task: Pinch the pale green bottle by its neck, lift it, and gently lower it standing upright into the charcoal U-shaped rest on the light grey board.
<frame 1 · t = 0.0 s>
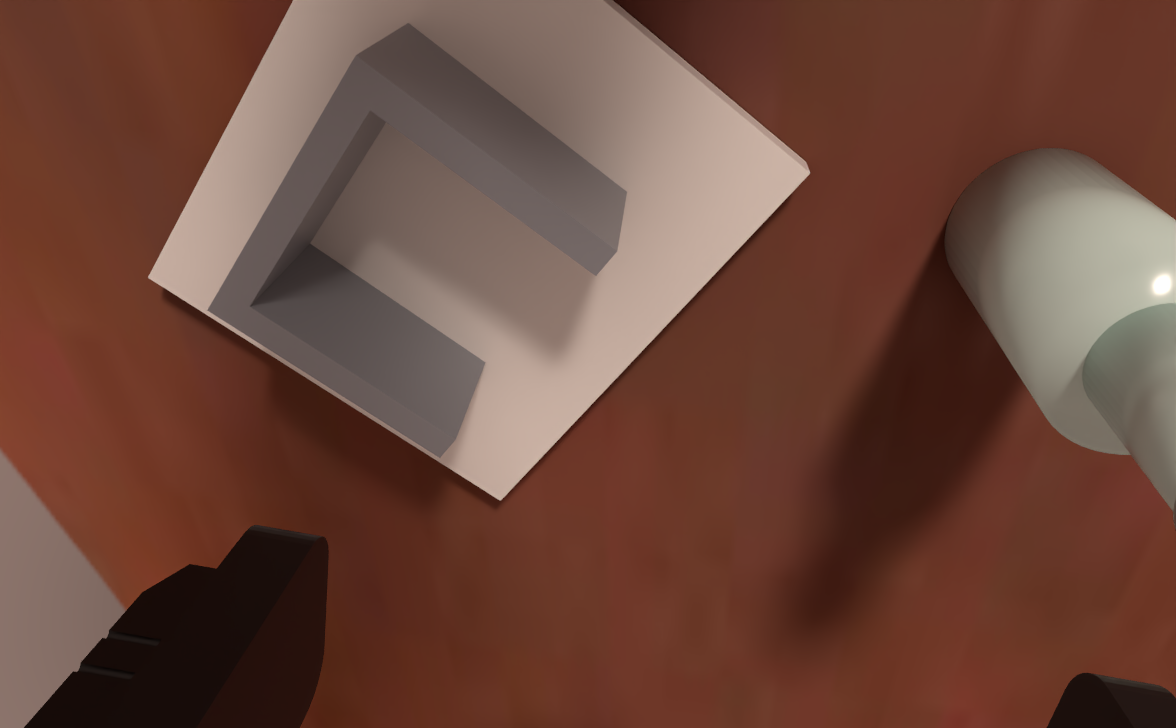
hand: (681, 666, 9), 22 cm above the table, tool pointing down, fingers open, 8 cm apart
u rest: (462, 216, 31), on the table
bottle: (1031, 229, 29), on the table
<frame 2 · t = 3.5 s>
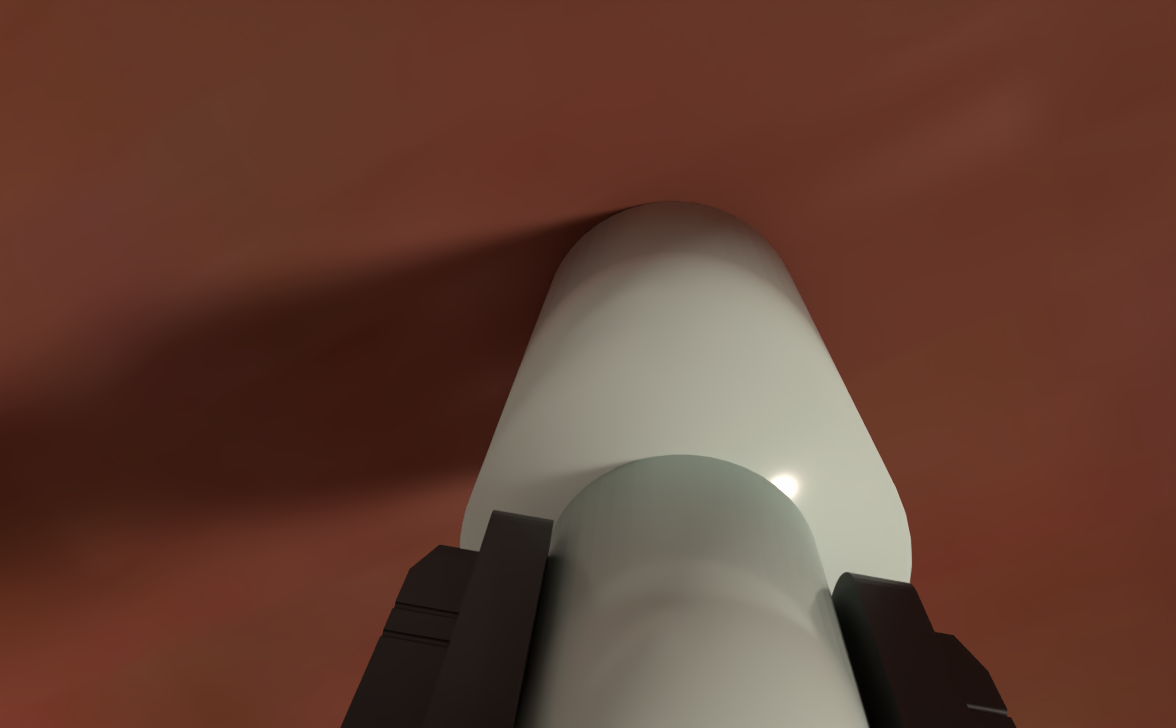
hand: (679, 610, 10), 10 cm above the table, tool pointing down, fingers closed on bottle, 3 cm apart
bottle: (670, 327, 19), on the table, touching gripper
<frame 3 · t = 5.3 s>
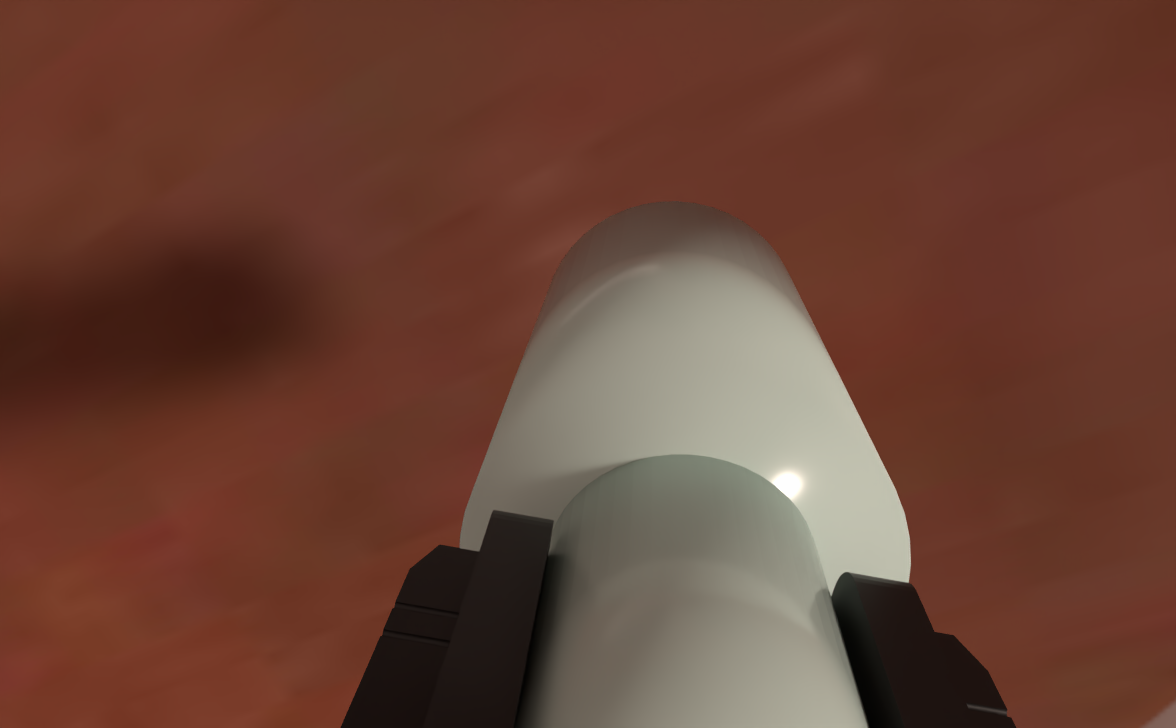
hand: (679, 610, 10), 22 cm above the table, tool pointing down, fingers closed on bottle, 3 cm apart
bottle: (669, 327, 19), point 12 cm above the table, touching gripper
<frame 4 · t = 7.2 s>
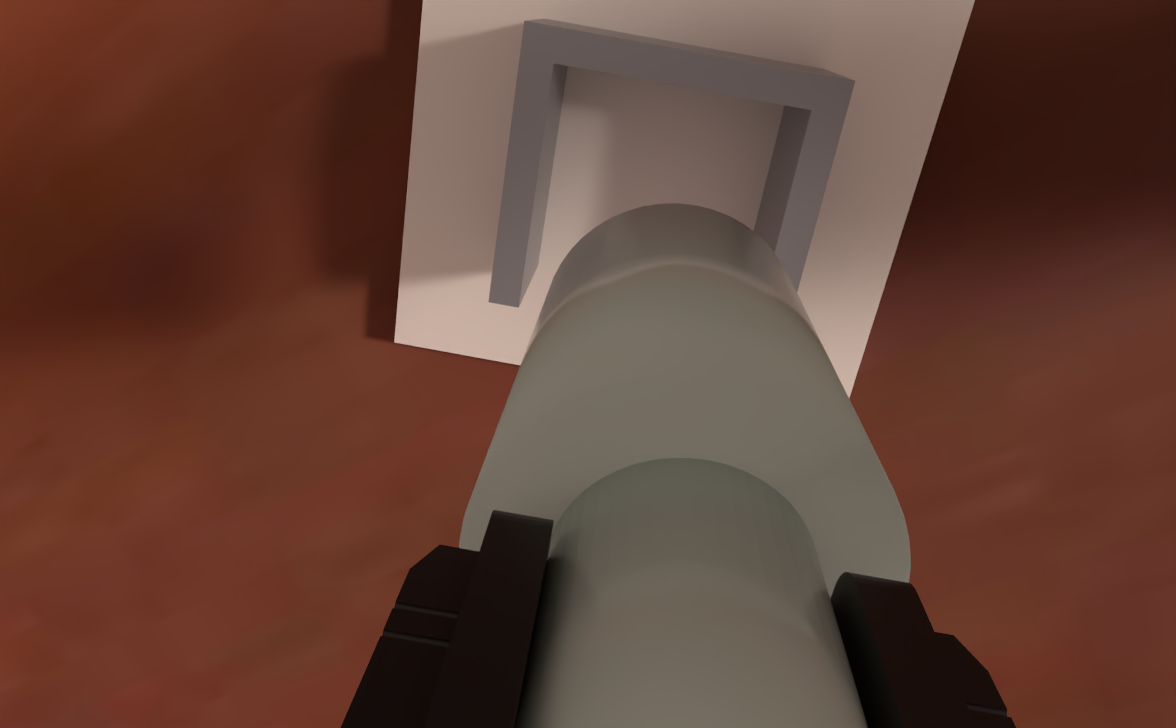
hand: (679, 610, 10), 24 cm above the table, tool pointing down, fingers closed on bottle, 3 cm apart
u rest: (656, 177, 32), on the table
bottle: (669, 329, 19), point 14 cm above the table, touching gripper
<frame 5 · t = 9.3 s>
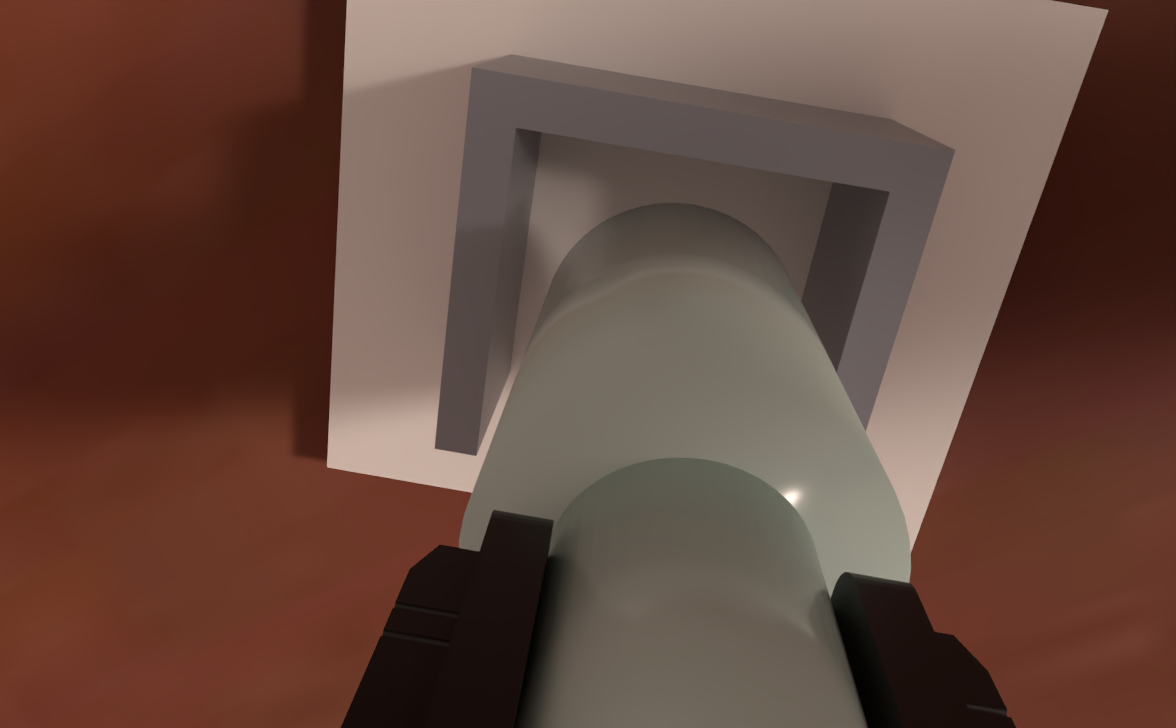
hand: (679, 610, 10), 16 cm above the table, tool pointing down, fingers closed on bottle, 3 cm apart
u rest: (664, 257, 24), on the table
bottle: (669, 328, 19), point 6 cm above the table, touching gripper
when the fingers open (12 cm above the table, at t = 10.9 s): bottle drops 1 cm, resting on u rest.
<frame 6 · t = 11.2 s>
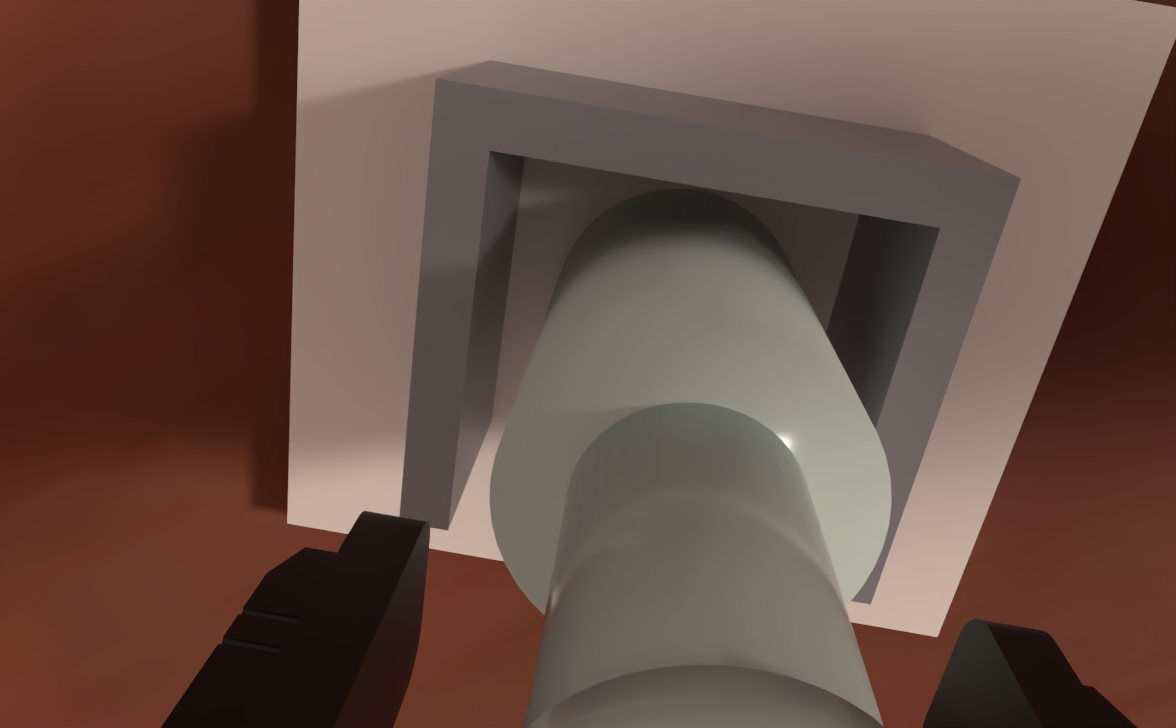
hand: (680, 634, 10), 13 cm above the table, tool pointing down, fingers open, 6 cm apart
u rest: (666, 290, 22), on the table
bottle: (674, 307, 20), point 1 cm above the table, touching u rest
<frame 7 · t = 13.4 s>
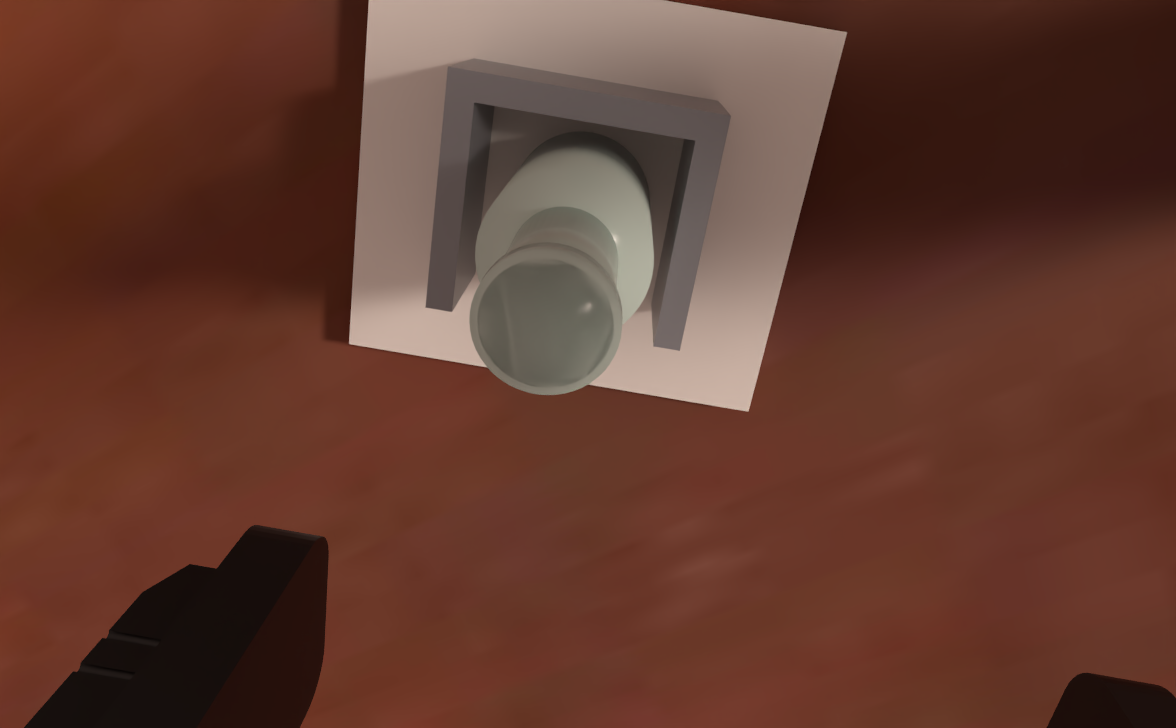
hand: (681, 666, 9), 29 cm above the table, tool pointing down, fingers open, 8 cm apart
u rest: (578, 195, 36), on the table
bottle: (581, 201, 35), point 1 cm above the table, touching u rest
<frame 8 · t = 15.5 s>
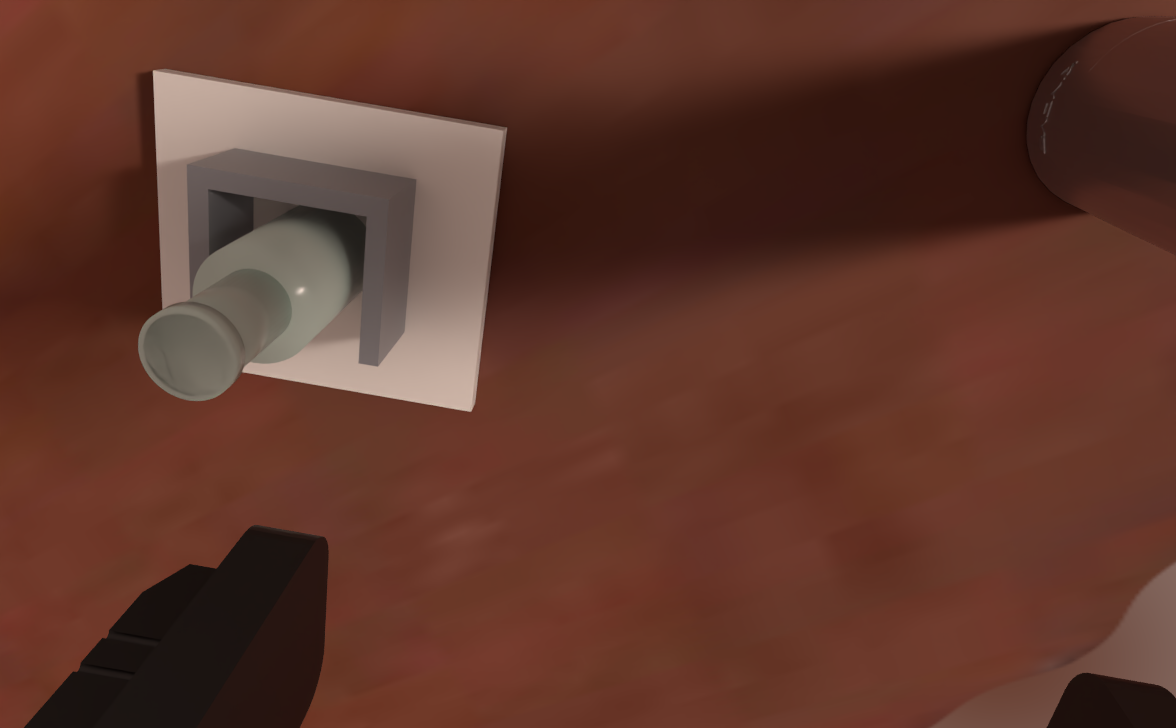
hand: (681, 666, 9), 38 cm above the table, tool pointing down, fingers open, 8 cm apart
u rest: (330, 246, 48), on the table
bottle: (325, 252, 47), point 1 cm above the table, touching u rest
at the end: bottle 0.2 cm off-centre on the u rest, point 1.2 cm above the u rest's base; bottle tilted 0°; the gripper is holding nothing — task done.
